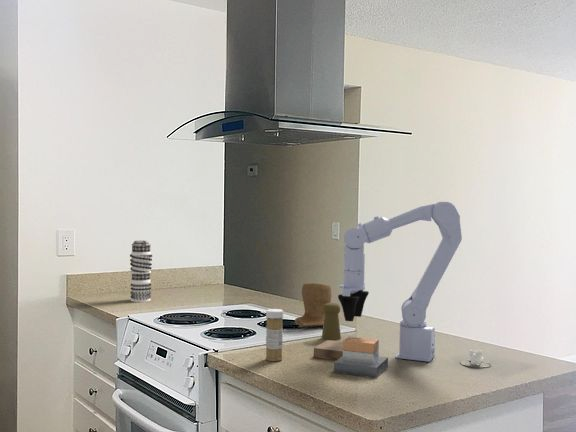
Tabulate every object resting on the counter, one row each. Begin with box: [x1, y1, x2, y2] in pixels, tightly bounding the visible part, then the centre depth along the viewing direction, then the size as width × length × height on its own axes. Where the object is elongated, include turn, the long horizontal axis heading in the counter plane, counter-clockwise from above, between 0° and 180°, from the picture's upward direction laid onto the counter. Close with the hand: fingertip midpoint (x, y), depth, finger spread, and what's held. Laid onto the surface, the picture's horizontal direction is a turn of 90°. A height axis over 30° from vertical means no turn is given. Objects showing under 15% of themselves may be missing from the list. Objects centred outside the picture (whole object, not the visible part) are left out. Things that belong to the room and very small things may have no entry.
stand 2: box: [333, 356, 389, 378], centre depth 159 cm, size 11×11×2 cm
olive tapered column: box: [321, 302, 342, 341], centre depth 195 cm, size 6×6×11 cm
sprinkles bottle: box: [265, 308, 284, 362], centre depth 167 cm, size 5×5×13 cm
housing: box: [342, 336, 380, 364], centre depth 159 cm, size 8×5×5 cm, turn 67°
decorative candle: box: [129, 240, 153, 303], centre depth 262 cm, size 9×9×25 cm
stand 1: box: [313, 340, 343, 361], centre depth 174 cm, size 11×11×2 cm
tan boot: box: [294, 282, 332, 329], centre depth 214 cm, size 15×12×15 cm
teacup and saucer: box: [468, 348, 484, 365], centre depth 166 cm, size 9×8×4 cm
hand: (353, 318), depth 175 cm, fingers open, 7 cm apart
